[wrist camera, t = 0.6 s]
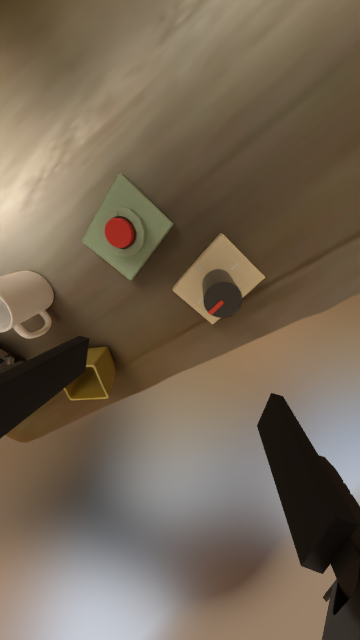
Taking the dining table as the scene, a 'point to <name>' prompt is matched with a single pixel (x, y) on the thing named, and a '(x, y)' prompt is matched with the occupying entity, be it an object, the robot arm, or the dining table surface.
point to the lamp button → (119, 232)
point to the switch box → (144, 219)
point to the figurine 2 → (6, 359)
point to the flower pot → (94, 377)
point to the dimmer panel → (212, 258)
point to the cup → (24, 301)
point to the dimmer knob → (220, 294)
